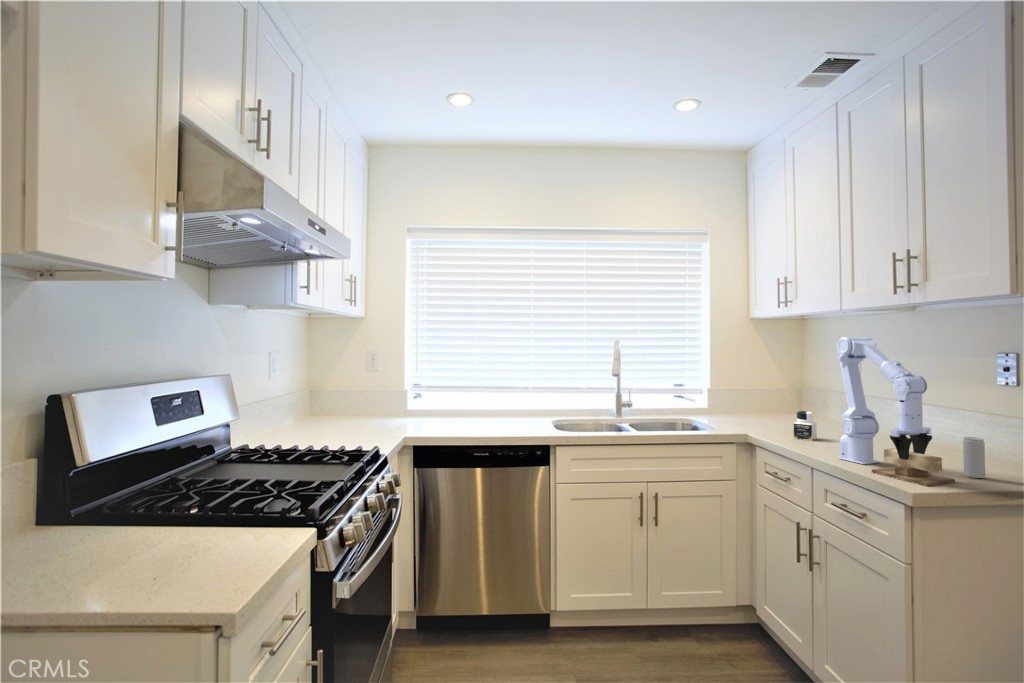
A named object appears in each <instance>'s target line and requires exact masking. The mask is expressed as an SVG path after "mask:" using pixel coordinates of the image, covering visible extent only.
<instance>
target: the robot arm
mask: <svg viewBox="0 0 1024 683" xmlns="http://www.w3.org/2000/svg"><path fill="white" fill-rule="evenodd" d="M835 346H836V351H837V358H838V361H839V366H840V370H841V371H840V372H841V377H842V382H843V387H844V392H845V398H846V403H847V408H848V409H846V411H845V412H843V413H842V415H841V417H842V422H841V429H842V431H843V432H844V434H843V435H842V436H841V437H840V440H839V457H838V459H840V460H844V461H847V462H853V463H857V464H861V465H870V464H879V462H880V463H881V461H880V460H876V459H874V438H876V435H877V434H878V433H879V431H880V424H879V422H878V420H877V418H876V415H875V413H874V411H872V410H870V409H869V408H868V407H867V402H866V399H865V398H866V397H865V392H864V387H863V382H862V377H861V373H860V368H859V364H860V363H861V362H863V361H864V360H865V359H869V360H870V361H871V362H872V363H874V364H875V365H877V366H878V367H879V368H880V369H879V372H880V374H882V375H883V376H884V378H886V379H887V380H888V381H889V382H891V383H892V387H893V391H894V392H895V394H896V395H895V396H896V399H897V400H898V427H896V428H894V429H890V435H889V439H890V440H891V441H892V443H893V444H894V447H895V449H897V452H898V455H899V458H900V459H904V460H908V458H909V451H910V447H911V444H912V449H913V451H912V452H915V453H920V454H925V455H926V450H927V448H928V445H929V444H930V443H931V441H932V439H933V436H932V435H931V434H932V429H931V427H928V426H924V424H923V394H925V393H926V391H927V390H928V383H927V380H926V379H924V377H923V376H922V375H915V374H914V373H912V372H911V371H909V370H908V369H907V368H906V367H905V366H903V365H902V363H901V362H900V361H898V360H890V359H889V357H887V356H886V355H885V354H884V353H883V351H881V349H879V348H878V347H877V342H876V341H875V340H874V339H873V338H871V337H870V336H864V337H862V336H861V337H847V336H843V337H841V338H840V339H839V340H838V342H837V343H836V345H835ZM907 436H909V437H907Z"/></svg>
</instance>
